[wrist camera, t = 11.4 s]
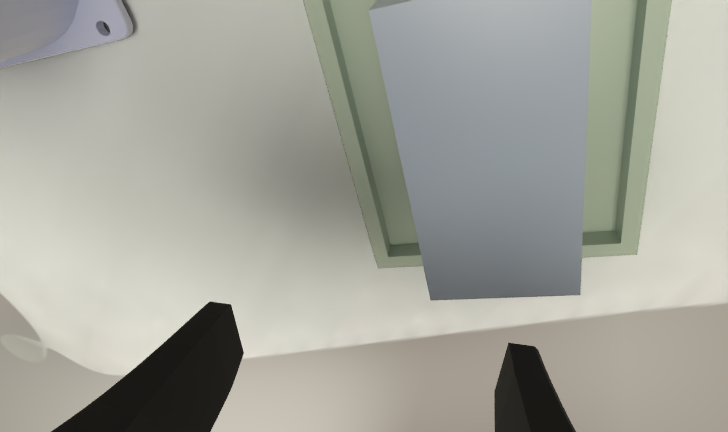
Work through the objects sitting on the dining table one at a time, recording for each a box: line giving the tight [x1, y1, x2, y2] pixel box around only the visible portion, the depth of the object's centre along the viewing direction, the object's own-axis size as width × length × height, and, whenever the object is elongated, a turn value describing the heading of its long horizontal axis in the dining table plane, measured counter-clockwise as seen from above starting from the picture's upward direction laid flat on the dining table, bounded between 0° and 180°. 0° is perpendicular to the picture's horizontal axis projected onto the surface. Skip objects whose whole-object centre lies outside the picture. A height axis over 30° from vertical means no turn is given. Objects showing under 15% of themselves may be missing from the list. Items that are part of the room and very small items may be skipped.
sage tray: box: [303, 0, 672, 268], centre depth 15 cm, size 10×14×1 cm
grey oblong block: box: [369, 0, 592, 300], centre depth 13 cm, size 4×9×6 cm, turn 14°
